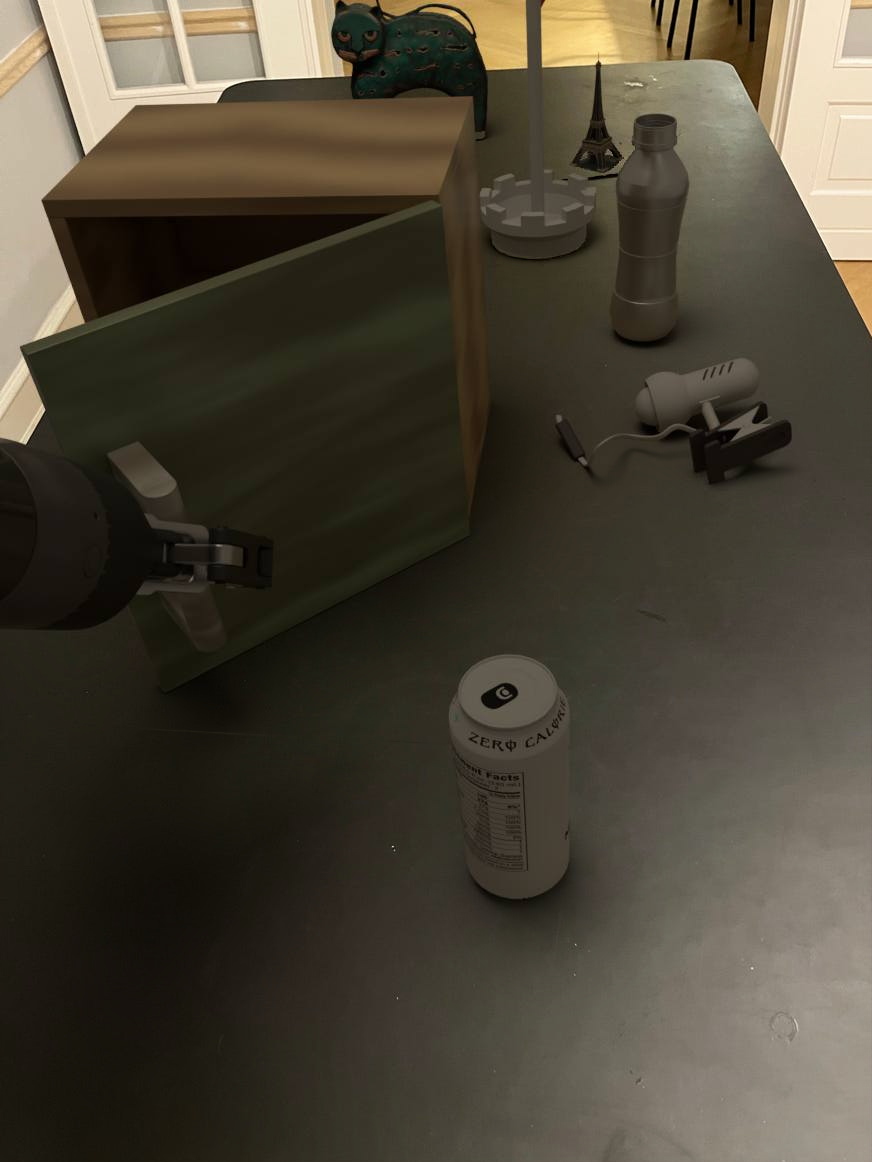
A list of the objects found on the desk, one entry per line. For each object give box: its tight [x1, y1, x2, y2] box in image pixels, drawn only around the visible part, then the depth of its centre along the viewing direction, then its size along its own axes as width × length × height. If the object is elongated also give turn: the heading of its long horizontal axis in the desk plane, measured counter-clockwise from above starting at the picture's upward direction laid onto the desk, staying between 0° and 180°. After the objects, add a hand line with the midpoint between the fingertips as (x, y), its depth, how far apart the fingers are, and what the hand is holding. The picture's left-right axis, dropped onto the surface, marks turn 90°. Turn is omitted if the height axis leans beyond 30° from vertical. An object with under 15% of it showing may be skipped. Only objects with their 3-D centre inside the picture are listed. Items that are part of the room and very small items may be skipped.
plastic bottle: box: [609, 113, 691, 342], centre depth 96 cm, size 6×7×20 cm
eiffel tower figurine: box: [569, 51, 632, 173], centre depth 130 cm, size 15×10×13 cm
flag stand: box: [479, 0, 597, 257], centre depth 110 cm, size 13×13×30 cm
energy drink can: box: [448, 654, 571, 900], centre depth 56 cm, size 6×6×15 cm
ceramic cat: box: [330, 0, 489, 132], centre depth 138 cm, size 20×6×20 cm, turn 90°
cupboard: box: [40, 96, 492, 517], centre depth 82 cm, size 18×26×26 cm
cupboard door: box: [19, 200, 471, 694], centre depth 67 cm, size 7×26×26 cm, turn 127°
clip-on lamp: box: [555, 357, 793, 485], centre depth 87 cm, size 12×6×18 cm
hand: (178, 566), depth 59 cm, fingers open, 8 cm apart
